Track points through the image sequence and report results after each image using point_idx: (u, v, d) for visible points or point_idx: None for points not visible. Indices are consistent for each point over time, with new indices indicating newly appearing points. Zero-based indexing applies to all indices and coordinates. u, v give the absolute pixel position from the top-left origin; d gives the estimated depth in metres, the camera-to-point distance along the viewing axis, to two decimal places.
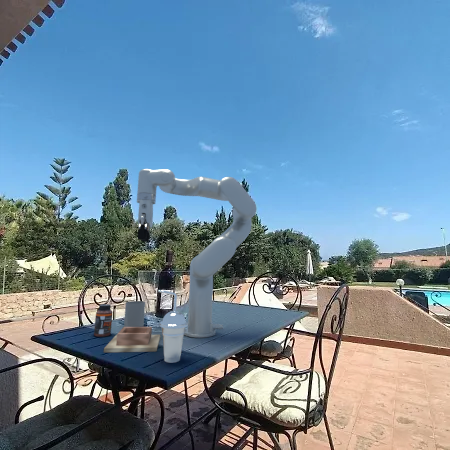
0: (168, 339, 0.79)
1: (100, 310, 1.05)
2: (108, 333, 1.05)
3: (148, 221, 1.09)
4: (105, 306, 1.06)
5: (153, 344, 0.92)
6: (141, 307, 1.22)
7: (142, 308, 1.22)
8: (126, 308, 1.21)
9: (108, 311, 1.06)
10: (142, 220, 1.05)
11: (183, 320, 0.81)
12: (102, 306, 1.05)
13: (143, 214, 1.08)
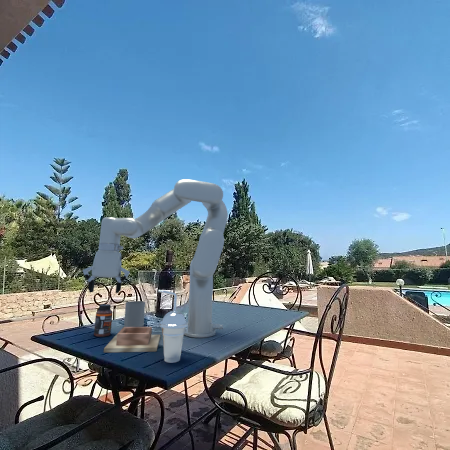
0: (168, 339, 0.79)
1: (100, 310, 1.05)
2: (108, 333, 1.05)
3: (120, 274, 1.11)
4: (105, 306, 1.06)
5: (153, 344, 0.92)
6: (141, 307, 1.22)
7: (142, 308, 1.22)
8: (126, 308, 1.21)
9: (108, 311, 1.06)
10: None
11: (183, 320, 0.81)
12: (102, 306, 1.05)
13: None
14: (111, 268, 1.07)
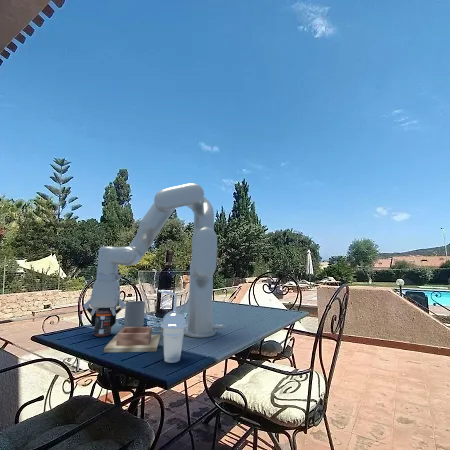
0: (168, 339, 0.79)
1: (100, 310, 1.05)
2: (108, 333, 1.05)
3: None
4: None
5: (153, 344, 0.92)
6: (141, 307, 1.22)
7: (142, 308, 1.22)
8: (126, 308, 1.21)
9: (108, 311, 1.06)
10: None
11: (183, 320, 0.81)
12: None
13: (120, 299, 1.08)
14: (109, 299, 1.06)
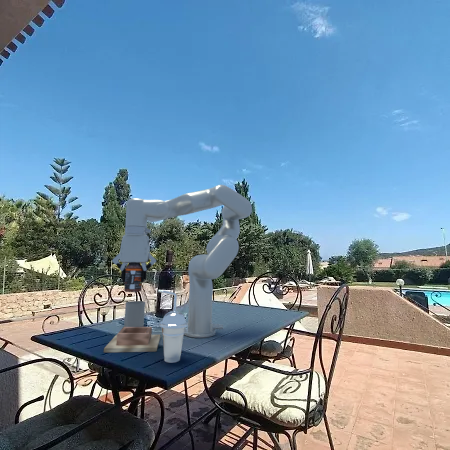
0: (168, 339, 0.79)
1: (130, 265, 0.99)
2: (139, 289, 0.99)
3: (149, 259, 1.03)
4: None
5: (153, 344, 0.92)
6: (141, 307, 1.22)
7: (142, 308, 1.22)
8: (126, 308, 1.21)
9: (138, 266, 0.99)
10: (153, 263, 1.02)
11: (183, 320, 0.81)
12: None
13: (150, 254, 1.02)
14: (140, 253, 0.99)
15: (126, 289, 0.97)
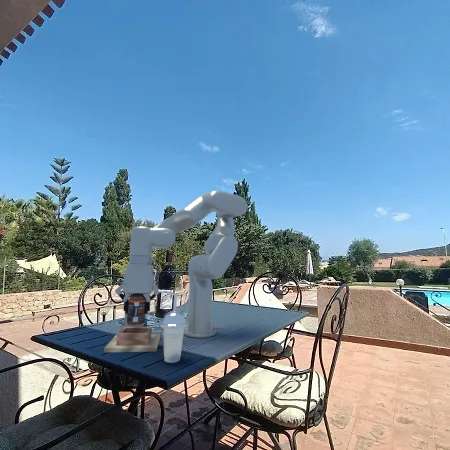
0: (168, 339, 0.79)
1: (133, 296, 0.95)
2: (142, 321, 0.95)
3: None
4: None
5: (153, 344, 0.92)
6: None
7: None
8: None
9: (142, 297, 0.96)
10: None
11: (183, 320, 0.81)
12: None
13: (154, 284, 0.99)
14: (144, 283, 0.96)
15: (129, 322, 0.93)
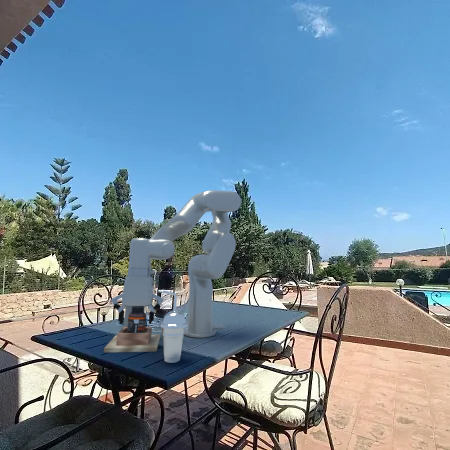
0: (168, 339, 0.79)
1: (133, 313, 0.95)
2: None
3: (152, 301, 1.00)
4: (139, 308, 0.95)
5: (153, 344, 0.92)
6: None
7: None
8: (126, 308, 1.21)
9: (142, 314, 0.95)
10: None
11: (183, 320, 0.81)
12: (135, 308, 0.95)
13: (154, 294, 0.98)
14: (143, 296, 0.95)
15: None
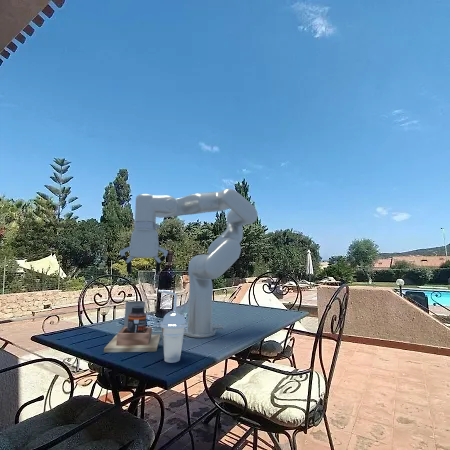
0: (168, 339, 0.79)
1: (133, 313, 0.95)
2: None
3: None
4: (139, 308, 0.95)
5: (153, 344, 0.92)
6: None
7: None
8: (126, 308, 1.21)
9: (142, 314, 0.95)
10: (166, 254, 1.04)
11: (183, 320, 0.81)
12: (135, 308, 0.95)
13: (160, 247, 1.04)
14: (150, 247, 1.01)
15: None
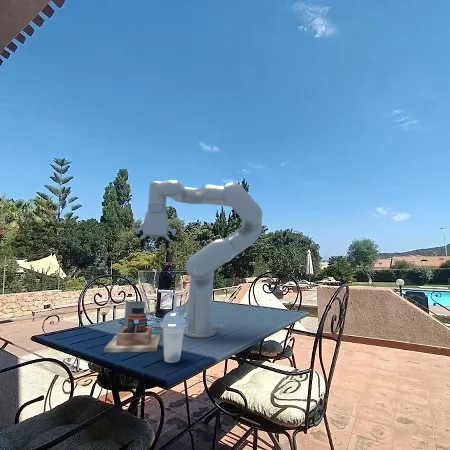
0: (168, 339, 0.79)
1: (133, 313, 0.95)
2: None
3: (167, 233, 1.21)
4: (139, 308, 0.95)
5: (153, 344, 0.92)
6: None
7: None
8: (126, 308, 1.21)
9: (142, 314, 0.95)
10: None
11: (183, 320, 0.81)
12: (135, 308, 0.95)
13: (169, 227, 1.20)
14: (160, 227, 1.17)
15: None
